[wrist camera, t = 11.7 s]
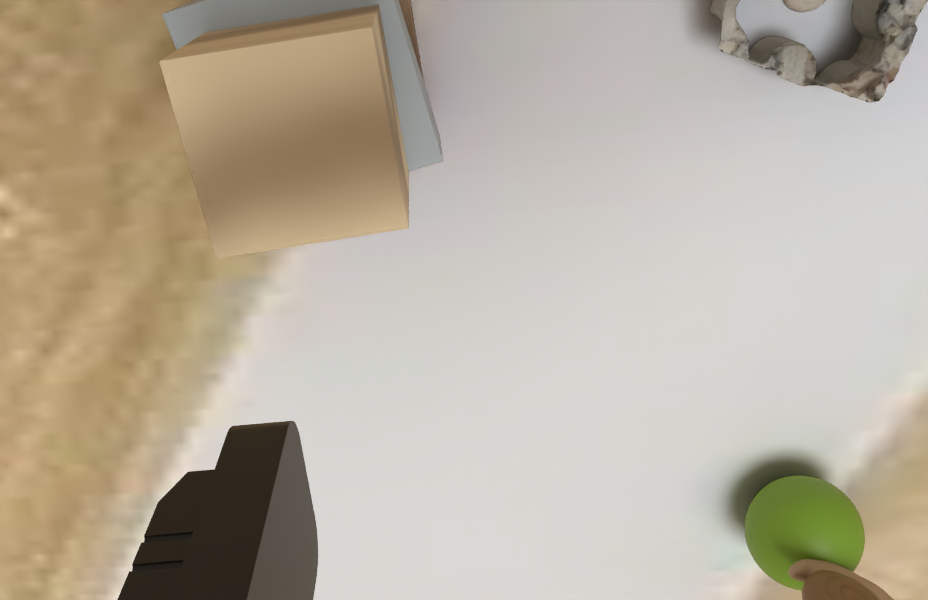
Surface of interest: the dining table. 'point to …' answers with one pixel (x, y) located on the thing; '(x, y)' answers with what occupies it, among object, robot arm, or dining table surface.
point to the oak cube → (291, 131)
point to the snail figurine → (809, 539)
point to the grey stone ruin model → (862, 76)
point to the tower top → (248, 3)
